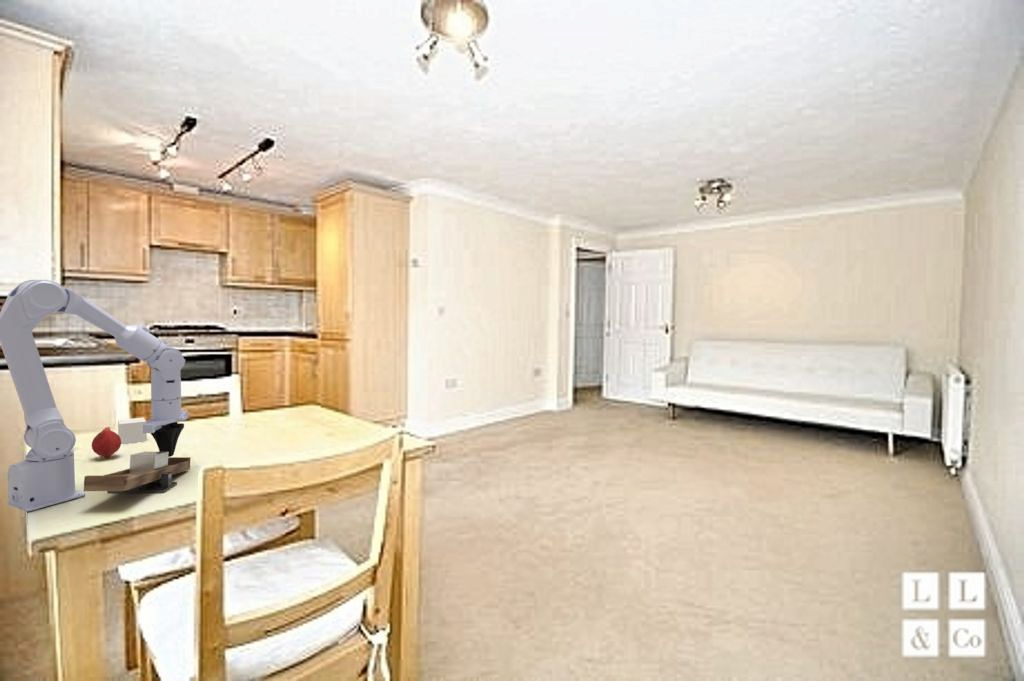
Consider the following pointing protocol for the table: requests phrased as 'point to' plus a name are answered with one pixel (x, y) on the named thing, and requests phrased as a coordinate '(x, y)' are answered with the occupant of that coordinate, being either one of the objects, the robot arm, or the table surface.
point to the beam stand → (152, 486)
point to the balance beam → (133, 477)
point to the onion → (106, 443)
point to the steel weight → (147, 462)
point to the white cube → (131, 430)
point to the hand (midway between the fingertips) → (167, 455)
